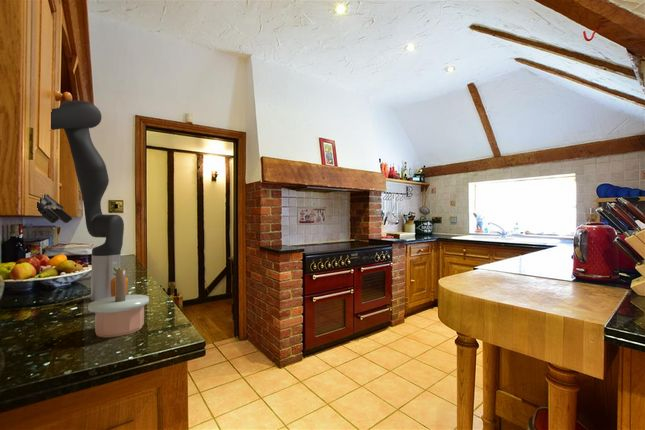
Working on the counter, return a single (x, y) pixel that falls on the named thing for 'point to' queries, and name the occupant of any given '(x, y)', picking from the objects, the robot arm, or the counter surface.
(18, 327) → the counter surface
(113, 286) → the carrot
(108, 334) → the terracotta pot
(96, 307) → the celadon lid
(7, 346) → the counter surface
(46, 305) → the counter surface
